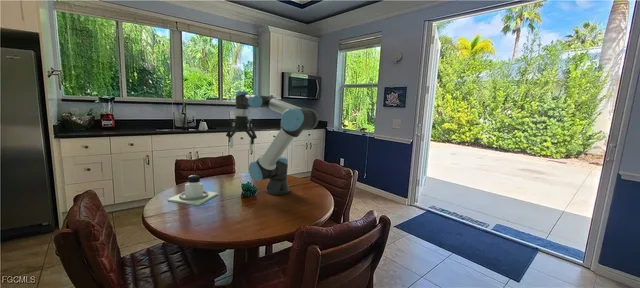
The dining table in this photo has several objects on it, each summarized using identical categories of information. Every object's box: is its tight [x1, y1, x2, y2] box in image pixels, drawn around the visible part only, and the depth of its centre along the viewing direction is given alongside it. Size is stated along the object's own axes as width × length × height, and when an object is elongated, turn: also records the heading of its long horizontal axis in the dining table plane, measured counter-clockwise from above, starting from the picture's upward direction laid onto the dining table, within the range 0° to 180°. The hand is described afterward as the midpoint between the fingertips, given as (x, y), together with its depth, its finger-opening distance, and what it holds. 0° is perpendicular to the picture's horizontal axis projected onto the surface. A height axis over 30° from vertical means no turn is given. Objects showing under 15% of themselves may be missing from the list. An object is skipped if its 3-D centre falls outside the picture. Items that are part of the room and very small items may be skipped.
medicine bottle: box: [184, 174, 204, 198], centre depth 156 cm, size 7×7×12 cm
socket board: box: [167, 189, 219, 206], centre depth 157 cm, size 19×19×2 cm
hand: (241, 148), depth 175 cm, fingers open, 13 cm apart
